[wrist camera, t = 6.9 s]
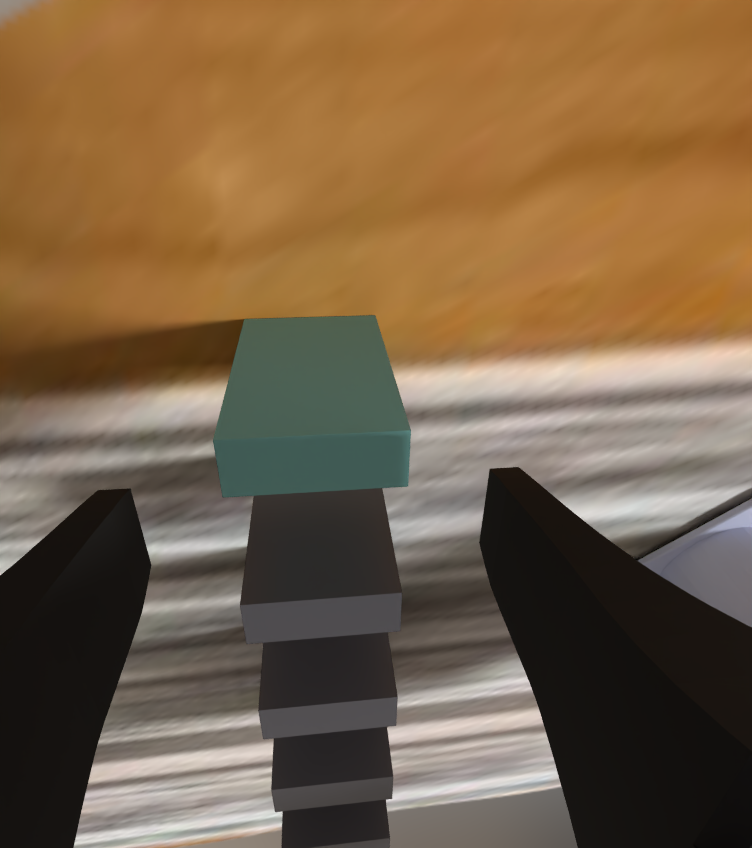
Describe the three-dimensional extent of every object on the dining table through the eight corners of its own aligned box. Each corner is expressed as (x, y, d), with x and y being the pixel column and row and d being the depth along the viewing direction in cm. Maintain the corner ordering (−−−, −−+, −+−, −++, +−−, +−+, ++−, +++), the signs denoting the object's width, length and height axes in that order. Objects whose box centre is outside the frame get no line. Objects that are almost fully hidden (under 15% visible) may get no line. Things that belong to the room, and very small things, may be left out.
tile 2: (371, 633, 28) (392, 798, 21) (282, 641, 27) (275, 811, 21) (372, 611, 27) (393, 776, 20) (279, 619, 26) (271, 789, 20)
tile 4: (373, 476, 23) (400, 631, 16) (263, 483, 22) (246, 643, 16) (373, 444, 22) (402, 592, 15) (259, 450, 21) (240, 605, 15)
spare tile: (374, 358, 20) (407, 486, 14) (249, 362, 19) (222, 497, 13) (375, 315, 19) (410, 430, 13) (244, 318, 19) (213, 440, 12)
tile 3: (372, 563, 25) (396, 725, 19) (273, 570, 25) (263, 739, 18) (373, 536, 24) (397, 696, 18) (270, 543, 24) (258, 710, 17)
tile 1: (371, 692, 30) (389, 855, 24) (289, 700, 30) (284, 868, 23) (371, 674, 29) (389, 838, 23) (286, 681, 29) (281, 850, 22)
